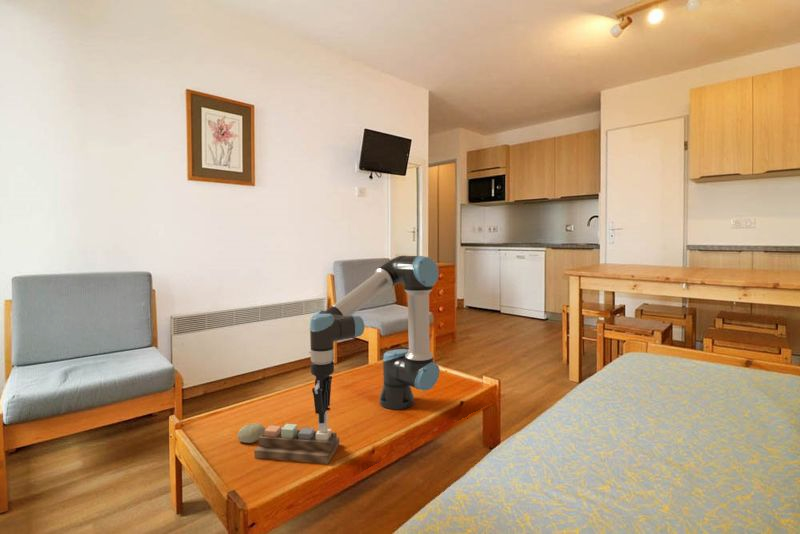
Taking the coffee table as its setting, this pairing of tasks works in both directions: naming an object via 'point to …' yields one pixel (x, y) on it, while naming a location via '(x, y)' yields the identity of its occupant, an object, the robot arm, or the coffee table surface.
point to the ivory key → (323, 435)
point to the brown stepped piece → (297, 448)
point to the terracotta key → (272, 431)
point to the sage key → (289, 431)
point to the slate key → (306, 434)
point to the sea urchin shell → (250, 432)
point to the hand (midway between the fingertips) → (323, 430)
